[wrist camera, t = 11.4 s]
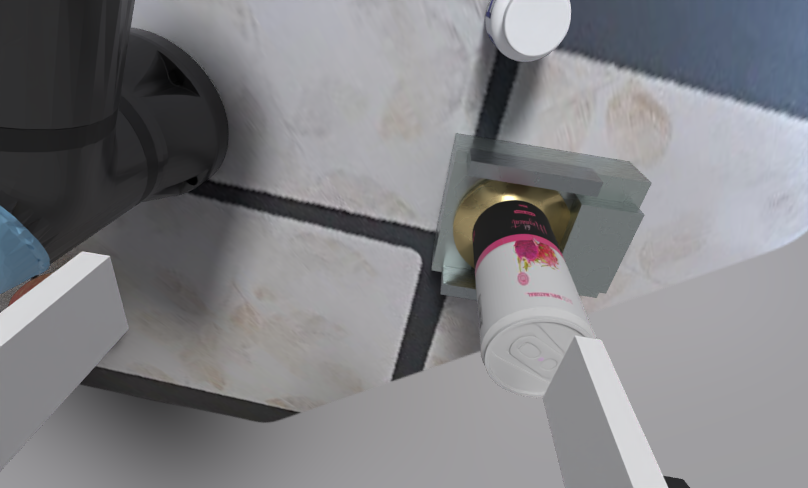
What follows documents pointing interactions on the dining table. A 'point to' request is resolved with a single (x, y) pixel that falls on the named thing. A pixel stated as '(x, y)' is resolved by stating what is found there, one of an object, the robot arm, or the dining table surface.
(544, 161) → the brass dish housing
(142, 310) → the dining table surface
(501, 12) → the pill bottle
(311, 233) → the dining table surface
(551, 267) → the beverage can
